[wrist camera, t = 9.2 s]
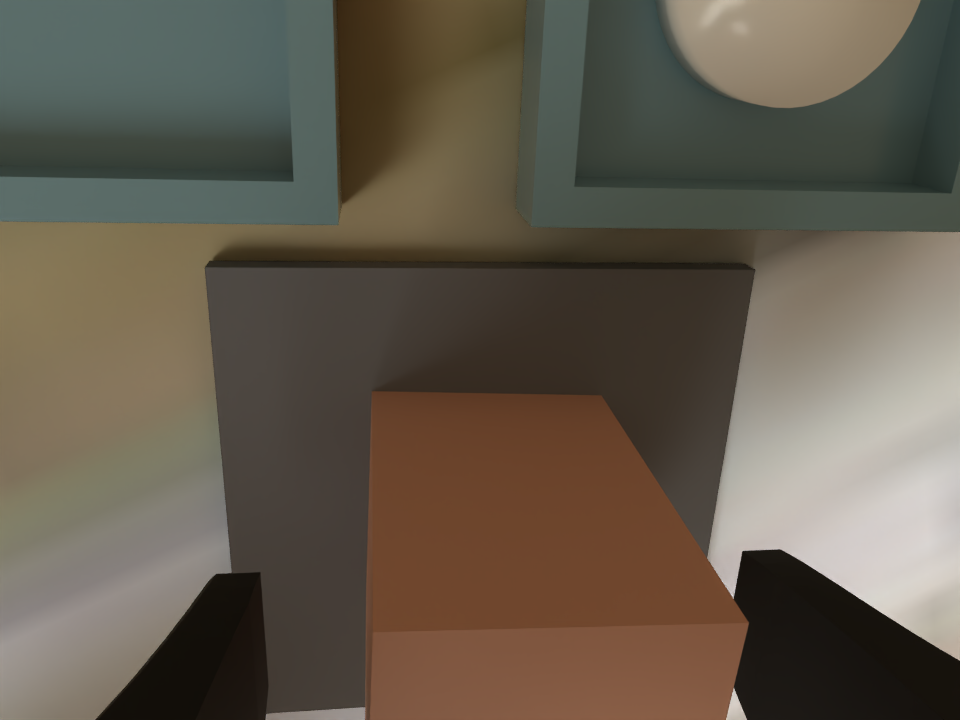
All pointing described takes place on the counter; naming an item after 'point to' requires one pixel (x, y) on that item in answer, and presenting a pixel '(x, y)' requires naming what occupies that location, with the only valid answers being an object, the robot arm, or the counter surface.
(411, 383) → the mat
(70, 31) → the dish
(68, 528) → the counter surface
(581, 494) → the brown rectangular block
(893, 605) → the counter surface
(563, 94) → the dish
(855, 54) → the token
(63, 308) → the counter surface
